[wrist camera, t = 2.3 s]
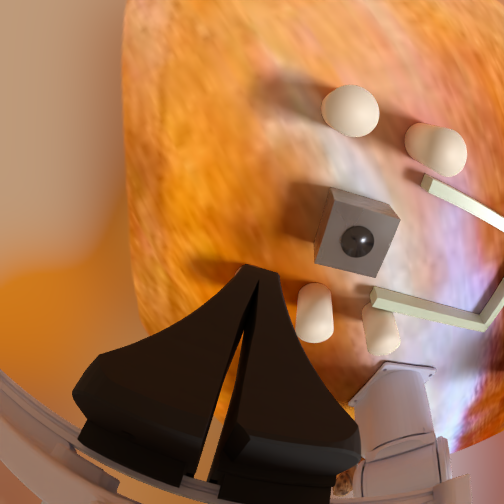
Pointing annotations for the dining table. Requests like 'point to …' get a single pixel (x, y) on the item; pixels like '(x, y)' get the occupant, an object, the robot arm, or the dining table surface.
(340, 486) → the lion figurine
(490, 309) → the frame
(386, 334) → the posts
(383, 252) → the push button box
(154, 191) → the dining table surface
